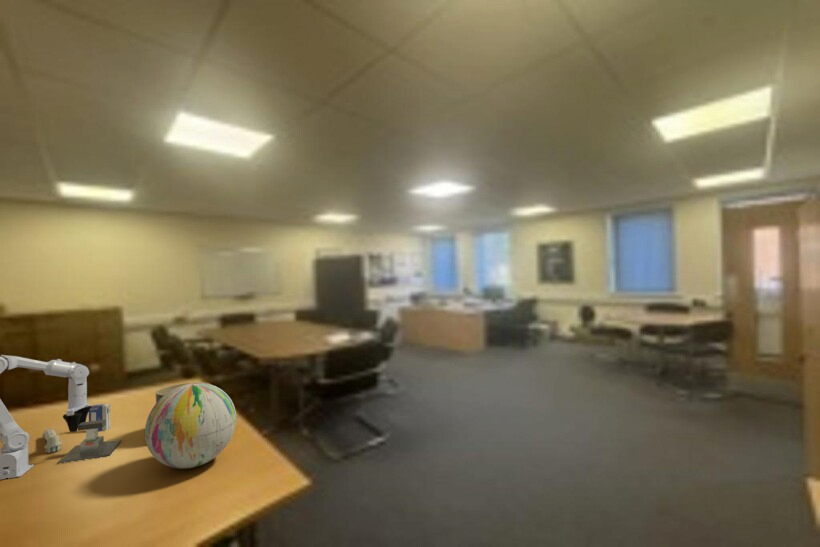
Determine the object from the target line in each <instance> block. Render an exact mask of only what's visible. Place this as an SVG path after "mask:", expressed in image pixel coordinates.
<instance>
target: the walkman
mask: <svg viewBox="0 0 820 547" xmlns="http://www.w3.org/2000/svg"><path fill="white" fill-rule="evenodd" d="M90 406H91V408H90V410H89V412H88V422H90V421H98V420H106V425H105V426H104V427H102V428H98V432H104V431H103V430H107V431H109V430H110V429H111V403H107V404H105V403H104V404H103V403H101V404H92V405H91V404H90ZM108 429H109V430H108Z"/></svg>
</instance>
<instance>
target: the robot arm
mask: <svg viewBox="0 0 820 547" xmlns="http://www.w3.org/2000/svg"><path fill="white" fill-rule="evenodd" d="M15 368H24V369H29V370H37V371H43V373H44V374H45V375H46V376H52V377H60V378H68V387H67V390H68V391H67V392H68V393H67V394H68V396H67V399H68V401H67V402H68V403H67V404H68V405H67V410H66V413H65V414H63V415H62V418H63V419H64V422H66V425H67V427H68V430H69V433H74V432H75V433H76V432H78V425H79V424H81V423H82V422H87V418H88V416H89V410H90V408H91V403H88V399H87V398H88V397H87V396H88V382H87V377H88V376H89V375H90V370H89V368H88V366H86V365H83V364H81V363H76V361H72V362H69V361H62V359H59V358H57V359H51V360H49V361H42V360H38V359H37V360H36V359H33V358H32V359H31V358H28V357H22V356H17V355H5V354H0V375H1V374H2V373H3V372H4V371H5V370H8V371H10V370H13V369H15ZM0 442H1V443H2V444H3V445H2V446H1V448H0V480H7V479H6V478H8V479H12V478H19V477H22V476H23V475H24V474H25V473H27V471H29V470H30V469H32V468H33V467H34V466H35V465H34V464H29V442H30V434H29V433H28V432H26V431H24V429H23V428H22V427H20V426H19V425H18V423H17V422H16V421H15V419H14V418H13V416H12V415H11V413H10V412H9V410H8V408H7V407H6V405H5V404H4V403H3V401H2V399H1V398H0Z"/></svg>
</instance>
